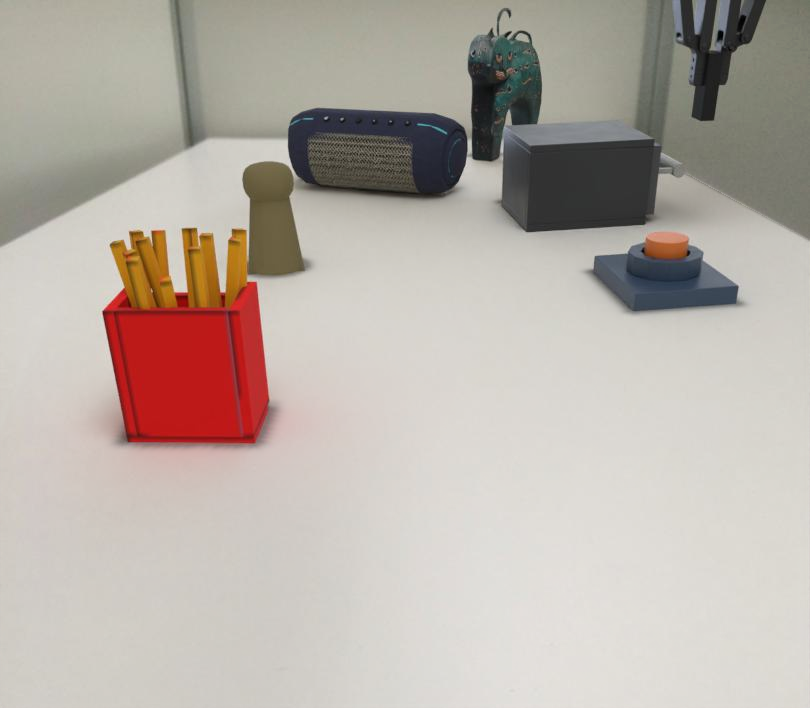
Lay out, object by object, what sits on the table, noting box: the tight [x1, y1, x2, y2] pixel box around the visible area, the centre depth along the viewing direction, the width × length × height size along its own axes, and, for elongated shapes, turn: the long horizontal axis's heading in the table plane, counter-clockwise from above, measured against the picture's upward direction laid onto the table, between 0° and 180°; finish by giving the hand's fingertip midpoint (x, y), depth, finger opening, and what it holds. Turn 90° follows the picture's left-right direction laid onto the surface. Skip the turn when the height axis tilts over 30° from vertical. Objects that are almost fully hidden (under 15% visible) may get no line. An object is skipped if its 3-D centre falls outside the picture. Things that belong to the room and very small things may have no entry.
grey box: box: [501, 119, 656, 233], centre depth 117 cm, size 15×13×10 cm
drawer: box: [646, 141, 687, 216], centre depth 118 cm, size 18×11×8 cm, turn 99°
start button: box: [644, 231, 690, 259], centre depth 93 cm, size 4×4×2 cm
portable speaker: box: [287, 107, 469, 196], centre depth 130 cm, size 25×10×10 cm, turn 67°
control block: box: [592, 241, 740, 312], centre depth 94 cm, size 10×12×4 cm
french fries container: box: [101, 227, 270, 444], centre depth 68 cm, size 7×9×14 cm
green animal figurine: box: [467, 7, 543, 162], centre depth 148 cm, size 20×6×20 cm, turn 149°
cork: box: [241, 160, 306, 276], centre depth 100 cm, size 6×6×11 cm
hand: (702, 118), depth 105 cm, fingers closed
